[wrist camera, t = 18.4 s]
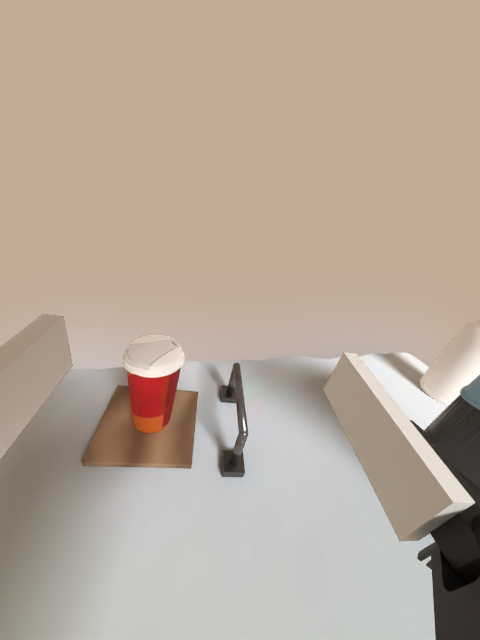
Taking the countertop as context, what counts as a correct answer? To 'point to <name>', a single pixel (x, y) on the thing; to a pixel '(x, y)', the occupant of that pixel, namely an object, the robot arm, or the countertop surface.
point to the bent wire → (231, 394)
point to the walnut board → (143, 436)
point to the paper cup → (152, 379)
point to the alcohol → (454, 366)
